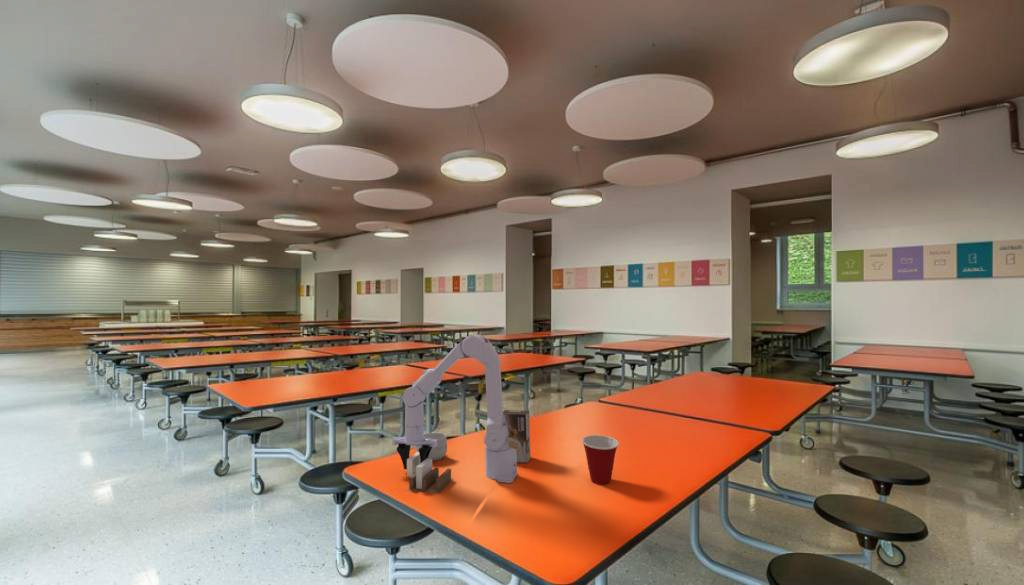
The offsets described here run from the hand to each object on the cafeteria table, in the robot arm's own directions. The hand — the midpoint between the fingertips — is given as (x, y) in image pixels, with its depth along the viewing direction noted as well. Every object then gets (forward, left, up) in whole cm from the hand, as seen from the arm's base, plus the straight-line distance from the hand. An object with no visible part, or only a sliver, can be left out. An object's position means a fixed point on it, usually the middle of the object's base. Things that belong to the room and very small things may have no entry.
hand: (414, 468), depth 134 cm
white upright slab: (0, 0, -2) cm, 2 cm away
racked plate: (-7, +8, -1) cm, 11 cm away
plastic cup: (-57, -6, -2) cm, 57 cm away
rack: (-9, +8, -2) cm, 12 cm away
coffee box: (-28, -20, -2) cm, 34 cm away
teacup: (+1, -16, -2) cm, 16 cm away
